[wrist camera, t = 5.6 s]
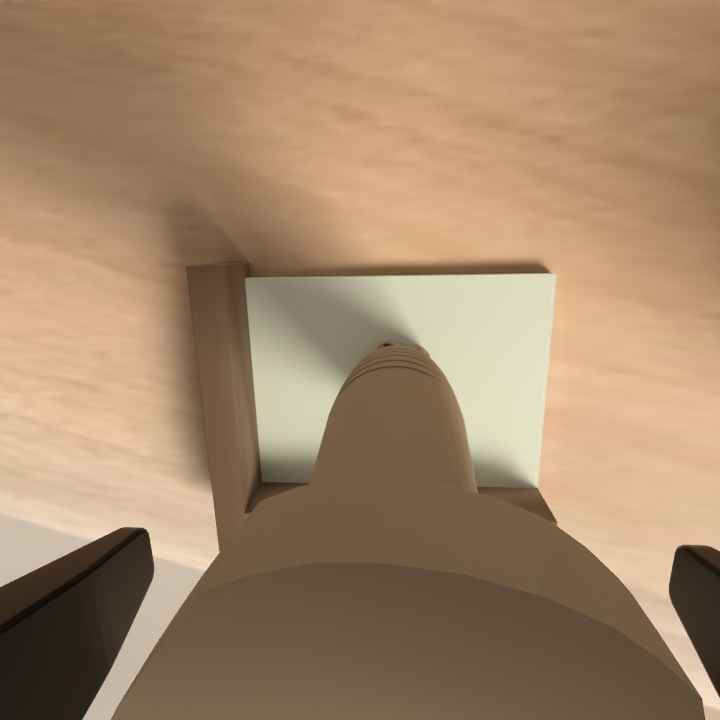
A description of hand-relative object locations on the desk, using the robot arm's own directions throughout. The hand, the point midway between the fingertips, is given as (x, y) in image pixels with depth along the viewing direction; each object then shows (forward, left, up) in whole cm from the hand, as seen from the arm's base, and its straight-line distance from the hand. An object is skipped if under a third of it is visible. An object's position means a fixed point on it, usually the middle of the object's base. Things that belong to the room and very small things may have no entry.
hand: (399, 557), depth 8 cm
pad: (0, 0, -12) cm, 12 cm away
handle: (0, 0, -11) cm, 11 cm away
